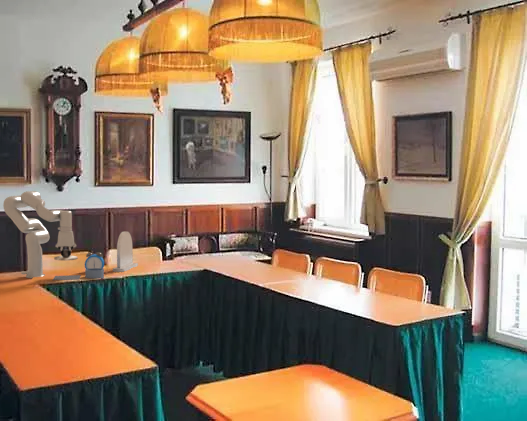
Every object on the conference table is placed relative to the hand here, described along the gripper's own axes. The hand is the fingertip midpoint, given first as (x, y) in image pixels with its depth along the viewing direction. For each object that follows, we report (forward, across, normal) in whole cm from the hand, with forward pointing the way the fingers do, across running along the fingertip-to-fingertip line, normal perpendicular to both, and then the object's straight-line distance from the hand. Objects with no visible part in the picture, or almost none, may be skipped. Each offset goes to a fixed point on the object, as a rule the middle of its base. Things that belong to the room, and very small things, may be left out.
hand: (65, 256), depth 435 cm
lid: (+2, 0, 0) cm, 2 cm away
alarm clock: (+16, +18, +20) cm, 31 cm away
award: (+16, +39, +37) cm, 55 cm away
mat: (+16, +1, 0) cm, 16 cm away
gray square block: (+15, +19, 0) cm, 24 cm away
